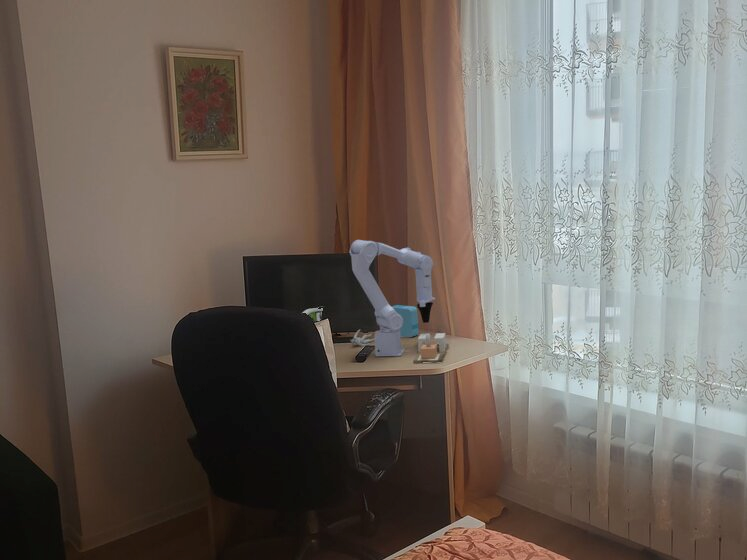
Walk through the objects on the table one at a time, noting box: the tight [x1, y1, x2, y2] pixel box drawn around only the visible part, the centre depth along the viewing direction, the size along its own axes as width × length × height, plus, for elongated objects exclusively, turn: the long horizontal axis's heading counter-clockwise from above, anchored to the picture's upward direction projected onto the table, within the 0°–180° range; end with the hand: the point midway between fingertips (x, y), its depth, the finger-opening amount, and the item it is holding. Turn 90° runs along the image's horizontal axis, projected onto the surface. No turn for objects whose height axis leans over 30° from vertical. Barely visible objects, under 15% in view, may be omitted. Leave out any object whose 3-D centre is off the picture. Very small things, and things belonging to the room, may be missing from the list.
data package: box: [391, 304, 420, 338], centre depth 307 cm, size 12×4×12 cm, turn 48°
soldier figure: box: [349, 329, 375, 347], centre depth 297 cm, size 8×5×12 cm
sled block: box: [420, 333, 438, 359], centre depth 267 cm, size 5×6×8 cm
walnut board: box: [412, 343, 449, 364], centre depth 274 cm, size 10×24×1 cm, turn 169°
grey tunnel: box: [417, 332, 447, 353], centre depth 277 cm, size 9×8×5 cm
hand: (426, 322), depth 285 cm, fingers closed
